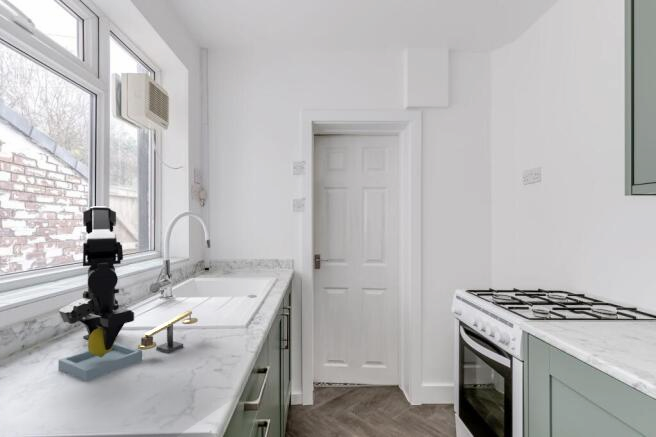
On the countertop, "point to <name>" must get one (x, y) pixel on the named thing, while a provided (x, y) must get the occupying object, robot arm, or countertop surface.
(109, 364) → the dish
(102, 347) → the lemon
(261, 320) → the countertop surface
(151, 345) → the balance
